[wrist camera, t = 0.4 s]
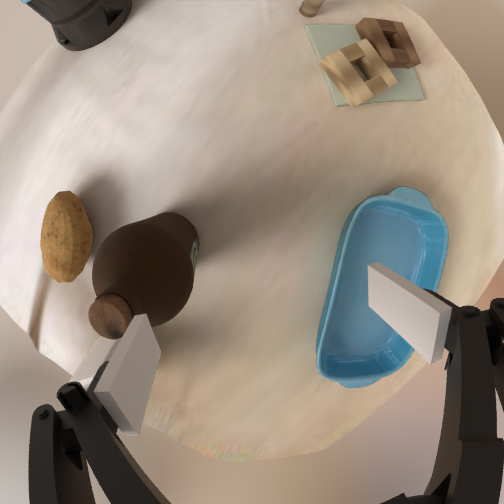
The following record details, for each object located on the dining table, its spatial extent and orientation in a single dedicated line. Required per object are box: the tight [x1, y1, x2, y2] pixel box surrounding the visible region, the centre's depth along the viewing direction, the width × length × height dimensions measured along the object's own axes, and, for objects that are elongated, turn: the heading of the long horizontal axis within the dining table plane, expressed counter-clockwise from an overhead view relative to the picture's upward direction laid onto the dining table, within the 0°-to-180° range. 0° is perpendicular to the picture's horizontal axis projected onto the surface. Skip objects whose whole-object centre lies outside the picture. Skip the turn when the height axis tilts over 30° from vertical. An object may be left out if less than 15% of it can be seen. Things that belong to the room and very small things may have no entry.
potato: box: [40, 191, 93, 282], centre depth 35 cm, size 10×14×8 cm
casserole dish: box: [316, 186, 449, 388], centre depth 43 cm, size 37×22×7 cm, turn 172°
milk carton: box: [69, 336, 122, 391], centre depth 35 cm, size 7×7×19 cm
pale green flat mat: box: [305, 24, 425, 107], centre depth 35 cm, size 16×20×1 cm
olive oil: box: [88, 213, 199, 340], centre depth 29 cm, size 11×11×25 cm
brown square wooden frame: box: [355, 18, 421, 69], centre depth 32 cm, size 9×9×4 cm
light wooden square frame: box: [319, 39, 398, 108], centre depth 34 cm, size 9×9×4 cm
